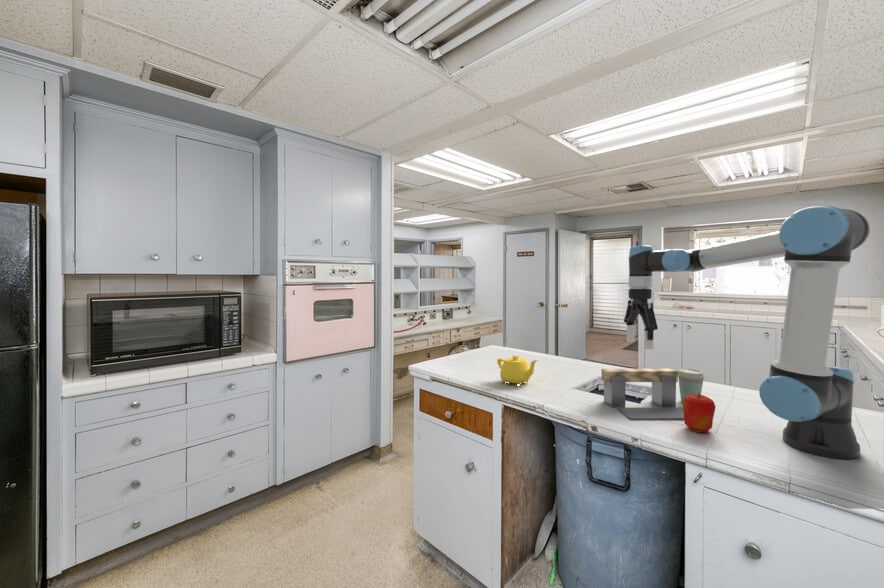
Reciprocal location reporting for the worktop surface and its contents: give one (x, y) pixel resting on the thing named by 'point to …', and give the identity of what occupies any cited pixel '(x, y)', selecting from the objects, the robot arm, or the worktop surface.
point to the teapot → (516, 369)
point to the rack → (660, 391)
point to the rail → (639, 374)
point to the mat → (653, 413)
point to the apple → (698, 412)
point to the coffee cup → (690, 382)
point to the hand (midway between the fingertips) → (639, 345)
